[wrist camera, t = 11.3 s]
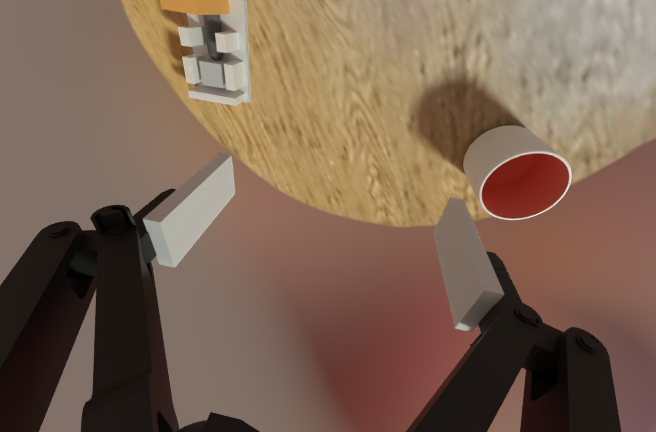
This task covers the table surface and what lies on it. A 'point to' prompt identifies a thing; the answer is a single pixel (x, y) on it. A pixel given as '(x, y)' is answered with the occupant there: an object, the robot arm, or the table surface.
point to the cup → (515, 173)
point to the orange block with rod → (211, 5)
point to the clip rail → (234, 50)
